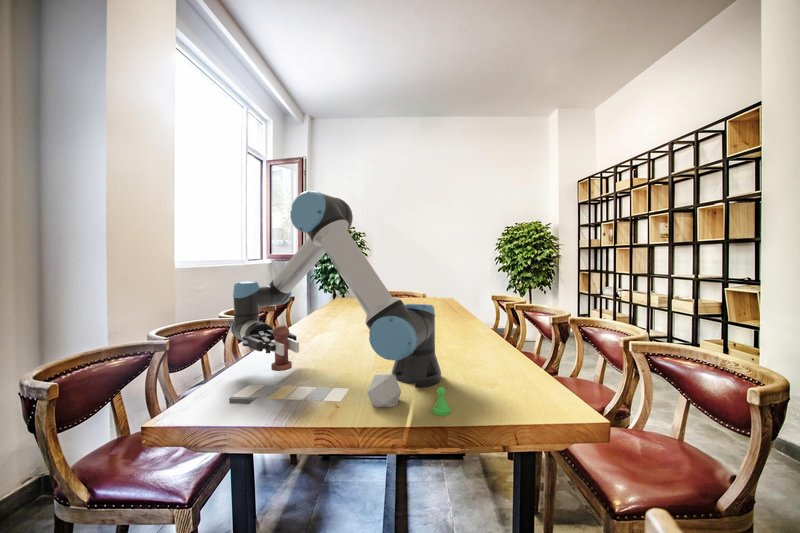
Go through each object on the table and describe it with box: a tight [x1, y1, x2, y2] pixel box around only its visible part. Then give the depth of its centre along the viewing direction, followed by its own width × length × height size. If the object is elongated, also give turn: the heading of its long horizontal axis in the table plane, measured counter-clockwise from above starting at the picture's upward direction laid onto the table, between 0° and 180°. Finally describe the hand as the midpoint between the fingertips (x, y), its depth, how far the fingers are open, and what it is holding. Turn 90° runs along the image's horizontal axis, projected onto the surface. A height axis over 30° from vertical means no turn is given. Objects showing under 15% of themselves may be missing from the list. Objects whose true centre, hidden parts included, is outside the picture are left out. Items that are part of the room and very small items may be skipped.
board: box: [228, 383, 350, 404], centre depth 92 cm, size 30×10×1 cm, turn 82°
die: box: [367, 374, 402, 408], centre depth 85 cm, size 8×9×10 cm
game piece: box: [431, 386, 451, 416], centre depth 82 cm, size 4×4×6 cm
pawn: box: [270, 324, 293, 372], centre depth 92 cm, size 5×5×12 cm
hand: (290, 348), depth 88 cm, fingers closed on pawn, 3 cm apart
